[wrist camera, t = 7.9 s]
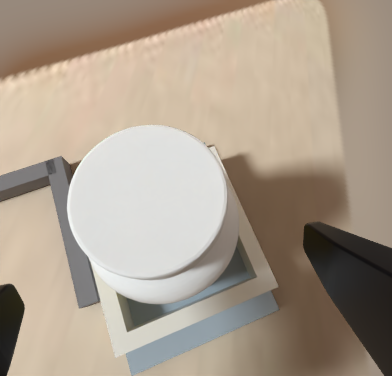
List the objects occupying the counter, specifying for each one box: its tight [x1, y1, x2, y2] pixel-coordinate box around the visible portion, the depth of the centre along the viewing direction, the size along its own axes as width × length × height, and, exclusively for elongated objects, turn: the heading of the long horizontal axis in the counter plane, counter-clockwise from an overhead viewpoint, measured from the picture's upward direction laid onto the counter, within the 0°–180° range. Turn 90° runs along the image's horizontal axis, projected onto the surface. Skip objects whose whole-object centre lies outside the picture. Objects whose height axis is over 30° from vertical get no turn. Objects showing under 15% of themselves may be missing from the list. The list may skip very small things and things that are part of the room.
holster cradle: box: [0, 156, 100, 308], centre depth 16 cm, size 9×9×1 cm
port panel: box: [91, 142, 279, 376], centre depth 15 cm, size 11×8×2 cm
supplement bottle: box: [67, 125, 239, 304], centre depth 11 cm, size 5×5×10 cm
